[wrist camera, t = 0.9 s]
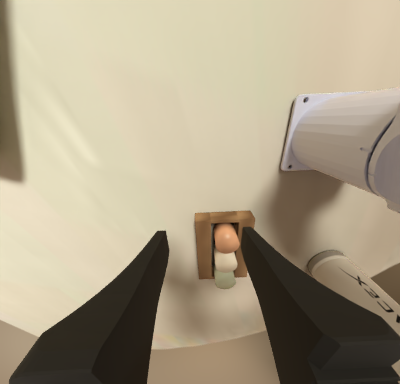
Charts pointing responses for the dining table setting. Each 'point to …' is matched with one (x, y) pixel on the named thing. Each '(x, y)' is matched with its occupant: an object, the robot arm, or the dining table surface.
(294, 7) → the dining table surface
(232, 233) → the button
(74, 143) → the dining table surface
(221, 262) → the button mid
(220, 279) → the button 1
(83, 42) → the dining table surface
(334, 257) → the travel mug
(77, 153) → the dining table surface
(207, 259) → the panel
